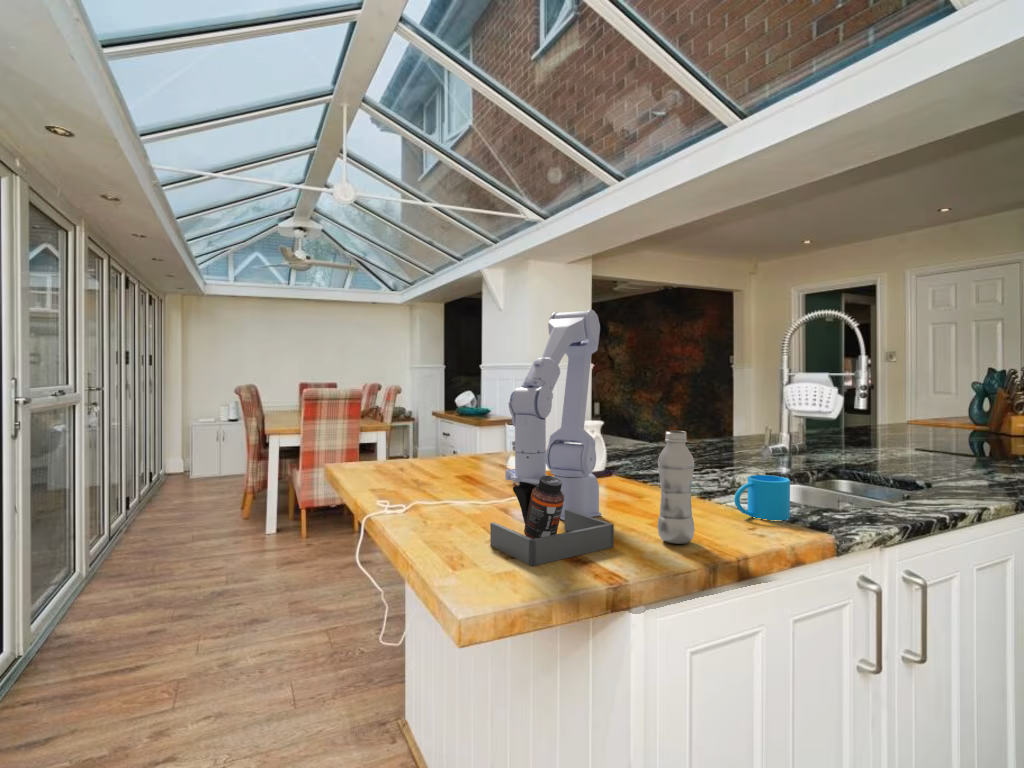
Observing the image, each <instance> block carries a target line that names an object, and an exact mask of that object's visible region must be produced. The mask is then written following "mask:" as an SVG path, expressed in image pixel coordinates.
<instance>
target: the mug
mask: <svg viewBox="0 0 1024 768" xmlns="http://www.w3.org/2000/svg"><path fill="white" fill-rule="evenodd" d="M746 489H747V510H746V509H744V507H743V505H741V501H740V499H741V495H742V494H743V492H744V491H745V490H746ZM733 499H734V505H735V507H736V509H737V510H738V511H739V512H741V513H742V514H743V515H747V516H748V515H749V516H751V517H755V518H761V519H767V520H787V519H789V518H791V480H790V478H788V477H784V476H783V477H782V476H777V475H770V474H769V475H768V474H767V475H766V474H755V475H754V474H753V475H749V476H747V483H744V484H743V485H741V486H740V487H739V488H738V489H737V490H736V492H735V494H734V498H733ZM749 516H748V517H749ZM751 517H750V518H751ZM789 520H790V519H789ZM787 521H788V520H787Z"/></svg>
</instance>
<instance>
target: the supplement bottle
mask: <svg viewBox="0 0 1024 768" xmlns="http://www.w3.org/2000/svg"><path fill="white" fill-rule="evenodd" d="M550 480H552V481H555V480H557V481H558V482H557V483H548V482H547V481H550ZM561 486H562V481H561V480H560V479H558V478H556V477H554V475H548V476H542V477H540V481H539V486H536V487H535V488H534V489H533V490H532V493H531V498H530V503H529V508H528V513H527V518H526V523H524V530H523V533H524V535H525V536H527V537H529V538H532V539H536V538H541V537H546V536H551V535H556V534H558V529H559V524H560V520H561V519H560V516H561V512H562V507H563V502H564V494H563V493H562V492H561Z"/></svg>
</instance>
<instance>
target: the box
mask: <svg viewBox="0 0 1024 768" xmlns="http://www.w3.org/2000/svg"><path fill="white" fill-rule="evenodd" d="M614 526H615V525H614V524H613V523H611V522H608V521H606V520H602V519H598V518H596V517H590V516H587V515H584V514H581V513H578V512H574V511H571V510H568V509H567V510H565V520H564V531H566V532H561V533H557V534H556V535H551V536H546V537H541V538H536V539H532V538H529V537H527V536H526V535H525V534H522V533H520V532H517V530H516V531H515V530H513V529H511V528H508V527H506V526H504V525H501V524H499V523H497V522H495V521H494V522H490V530H489V531H490V532H489V533H490V535H489V536H490V537H489V538H490V546H491V547H493V548H495V549H498V550H499V551H501V552H503V553H505V554H507V555H509V556H511V557H513V558H515V559H517V560H519V561H521V562H522V563H524V564H526V565H528V566H530V567H534V566H539V565H543V564H547V563H552V562H555V561H556V562H557V561H560V560H564V559H569V558H573V557H577V556H581V555H585V554H590V553H594V552H598V551H599V552H600V551H603V550H606V549H611V548H614V547H615V545H614V543H615V542H614V541H615V540H614V539H615V538H614V537H615V527H614Z"/></svg>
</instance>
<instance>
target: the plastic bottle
mask: <svg viewBox="0 0 1024 768" xmlns="http://www.w3.org/2000/svg"><path fill="white" fill-rule="evenodd" d="M664 441H665V442H666V445H665V446H664V448H663V449H662V450H661V452H660V453H659V456H658V457H657V458H658V459H657V466H658V473H659V481H660V483H659V485H660V490H661V491H660V505H659V506H660V507H659V515H658V520H657V533H658V536H659V538H660V539H661V540H662V541H663V542H665V543H670V544H683V545H684V544H688V543H690V542H691V541H692V540H693V539H694V534H695V521H694V517H693V510H692V493H691V492H692V484H693V476H694V470H695V469H694V468H695V459H694V457H693V454H692V453H691V452H690V450H689V448H688V447H687V446H686V443H688V439H687V432H686V431H683V430H667V431H665V439H664Z"/></svg>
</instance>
